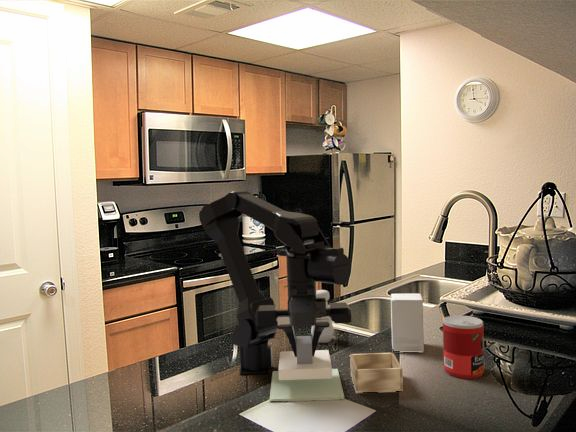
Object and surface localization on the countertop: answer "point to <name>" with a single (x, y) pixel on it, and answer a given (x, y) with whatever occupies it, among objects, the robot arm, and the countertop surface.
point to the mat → (306, 388)
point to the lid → (304, 362)
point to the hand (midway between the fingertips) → (304, 356)
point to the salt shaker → (328, 332)
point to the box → (376, 372)
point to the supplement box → (407, 322)
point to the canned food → (463, 346)
